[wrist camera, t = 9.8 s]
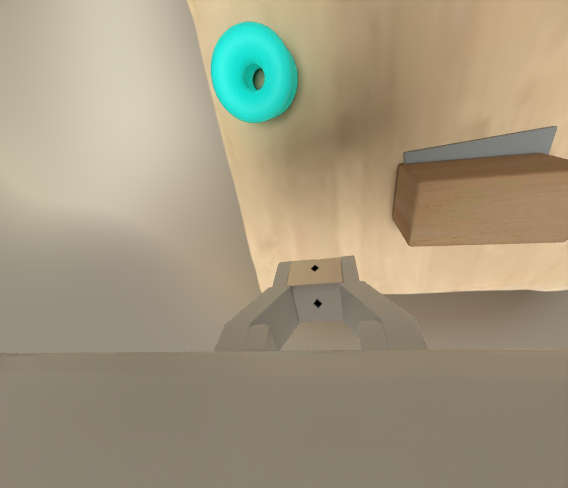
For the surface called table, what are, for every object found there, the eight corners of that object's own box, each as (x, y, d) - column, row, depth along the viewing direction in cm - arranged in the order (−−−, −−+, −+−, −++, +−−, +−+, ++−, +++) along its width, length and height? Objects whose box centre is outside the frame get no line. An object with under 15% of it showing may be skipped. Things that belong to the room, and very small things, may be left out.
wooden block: (391, 219, 44) (516, 213, 41) (408, 248, 36) (567, 243, 32) (398, 163, 39) (541, 151, 36) (419, 181, 31) (609, 168, 27)
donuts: (233, 137, 32) (190, 49, 27) (252, 129, 40) (221, 61, 36) (304, 101, 28) (268, -4, 24) (308, 100, 37) (281, 22, 33)
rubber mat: (404, 152, 39) (405, 152, 38) (553, 126, 34) (557, 126, 34) (400, 228, 46) (401, 230, 45) (525, 214, 41) (528, 216, 41)
